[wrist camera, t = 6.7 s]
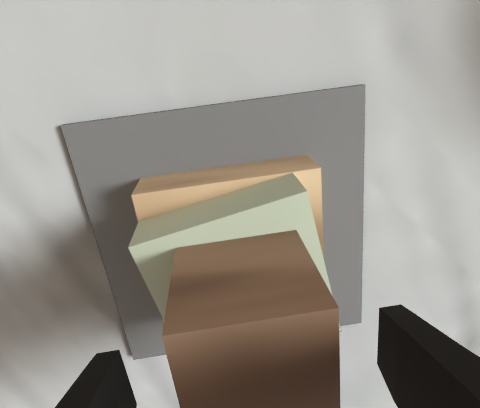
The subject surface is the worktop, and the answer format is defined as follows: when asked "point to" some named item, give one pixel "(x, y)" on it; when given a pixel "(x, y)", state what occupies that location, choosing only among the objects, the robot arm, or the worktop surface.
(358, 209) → the mat
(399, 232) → the worktop surface
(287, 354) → the walnut block
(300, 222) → the sage slab
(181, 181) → the oak slab
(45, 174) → the worktop surface
